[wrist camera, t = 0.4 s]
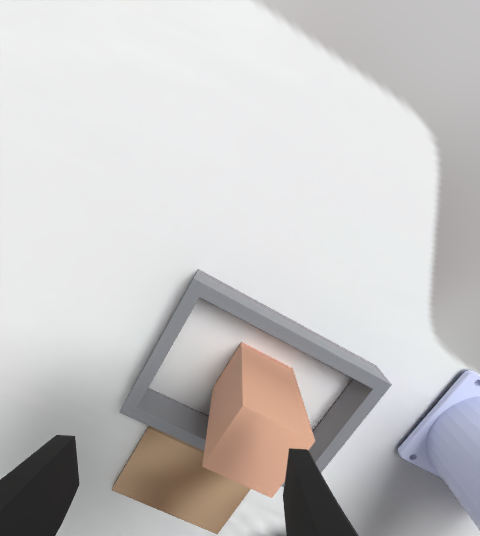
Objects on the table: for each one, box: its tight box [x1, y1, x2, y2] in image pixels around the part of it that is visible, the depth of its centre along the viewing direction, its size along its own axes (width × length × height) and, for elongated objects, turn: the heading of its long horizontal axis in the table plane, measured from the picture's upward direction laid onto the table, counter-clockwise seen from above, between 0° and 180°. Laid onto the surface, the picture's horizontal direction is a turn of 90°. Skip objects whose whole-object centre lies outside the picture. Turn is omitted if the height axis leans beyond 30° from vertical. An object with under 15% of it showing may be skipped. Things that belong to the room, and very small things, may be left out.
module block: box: [202, 342, 315, 498], centre depth 17 cm, size 4×4×6 cm
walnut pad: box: [112, 426, 251, 534], centre depth 21 cm, size 9×6×1 cm
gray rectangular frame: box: [120, 269, 391, 487], centre depth 19 cm, size 14×10×2 cm
